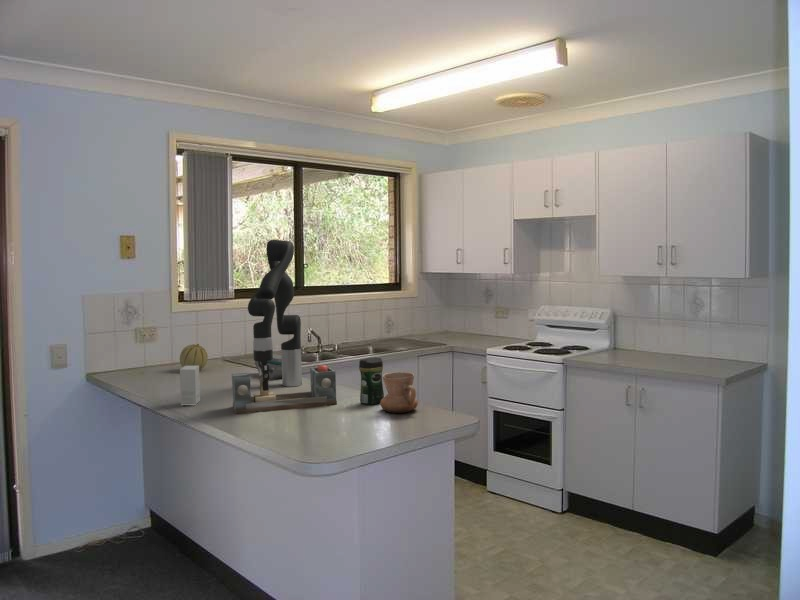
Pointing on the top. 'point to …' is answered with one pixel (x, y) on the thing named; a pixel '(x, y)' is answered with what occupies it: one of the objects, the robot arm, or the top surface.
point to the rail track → (318, 396)
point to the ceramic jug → (399, 392)
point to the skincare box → (189, 385)
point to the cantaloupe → (193, 356)
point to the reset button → (322, 368)
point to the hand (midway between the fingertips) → (264, 388)
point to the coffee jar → (371, 380)
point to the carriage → (264, 395)
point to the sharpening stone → (274, 366)
